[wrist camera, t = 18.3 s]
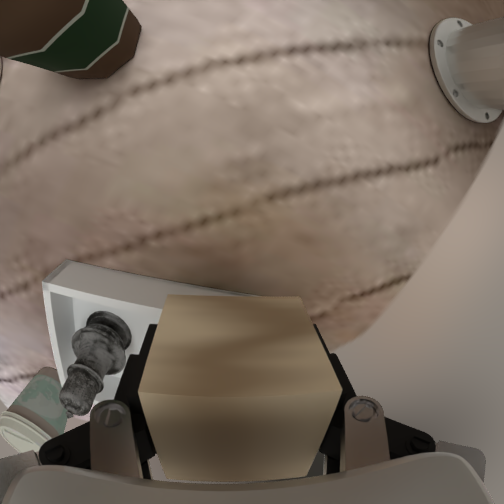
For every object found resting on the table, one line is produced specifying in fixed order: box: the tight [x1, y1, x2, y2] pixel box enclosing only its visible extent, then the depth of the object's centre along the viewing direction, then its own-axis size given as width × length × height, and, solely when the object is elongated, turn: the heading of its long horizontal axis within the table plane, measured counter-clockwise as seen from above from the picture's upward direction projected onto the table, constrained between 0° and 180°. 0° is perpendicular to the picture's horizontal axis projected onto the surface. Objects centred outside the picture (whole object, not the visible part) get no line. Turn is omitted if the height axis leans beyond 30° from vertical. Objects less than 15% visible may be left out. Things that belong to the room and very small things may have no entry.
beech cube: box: [138, 294, 342, 482], centre depth 10 cm, size 5×5×5 cm
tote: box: [42, 259, 261, 405], centre depth 27 cm, size 20×15×5 cm
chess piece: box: [59, 311, 132, 418], centre depth 22 cm, size 6×6×12 cm
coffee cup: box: [0, 367, 67, 453], centre depth 25 cm, size 8×8×12 cm
